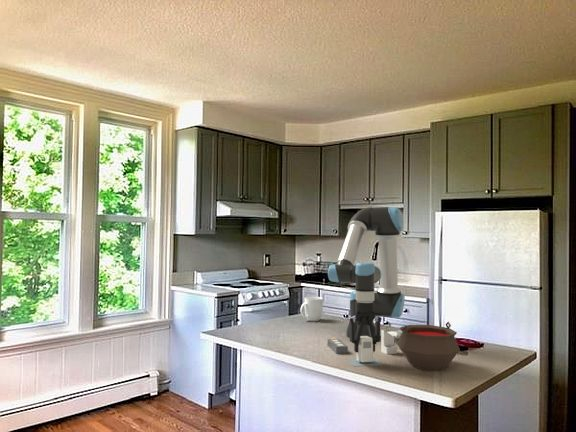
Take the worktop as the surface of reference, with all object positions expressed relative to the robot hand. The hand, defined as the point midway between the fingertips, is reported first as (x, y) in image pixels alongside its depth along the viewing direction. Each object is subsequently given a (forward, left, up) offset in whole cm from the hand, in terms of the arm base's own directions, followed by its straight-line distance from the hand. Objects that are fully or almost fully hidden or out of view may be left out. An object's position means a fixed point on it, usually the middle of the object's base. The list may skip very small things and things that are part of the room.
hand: (364, 360), depth 180 cm
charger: (0, 0, 0) cm, 0 cm away
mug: (0, -88, -1) cm, 88 cm away
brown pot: (-24, +6, -1) cm, 25 cm away
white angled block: (-16, -13, -1) cm, 21 cm away
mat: (0, 0, -1) cm, 1 cm away
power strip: (+5, -24, -1) cm, 25 cm away
